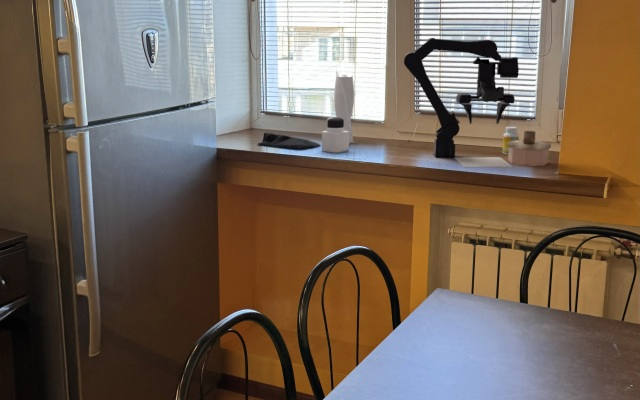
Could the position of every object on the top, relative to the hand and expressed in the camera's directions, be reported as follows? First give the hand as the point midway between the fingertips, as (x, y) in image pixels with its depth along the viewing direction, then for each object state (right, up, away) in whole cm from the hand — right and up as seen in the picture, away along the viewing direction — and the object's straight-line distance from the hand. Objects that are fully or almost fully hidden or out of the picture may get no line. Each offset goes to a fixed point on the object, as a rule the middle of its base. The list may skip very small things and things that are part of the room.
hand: (483, 123), depth 261 cm
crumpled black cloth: (-68, -6, +28) cm, 74 cm away
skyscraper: (-47, -4, +34) cm, 58 cm away
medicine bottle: (-50, -8, +17) cm, 54 cm away
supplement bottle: (+12, -10, +11) cm, 19 cm away
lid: (+13, -8, -8) cm, 17 cm away
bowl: (+13, -14, -6) cm, 20 cm away
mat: (-2, -14, -6) cm, 15 cm away
